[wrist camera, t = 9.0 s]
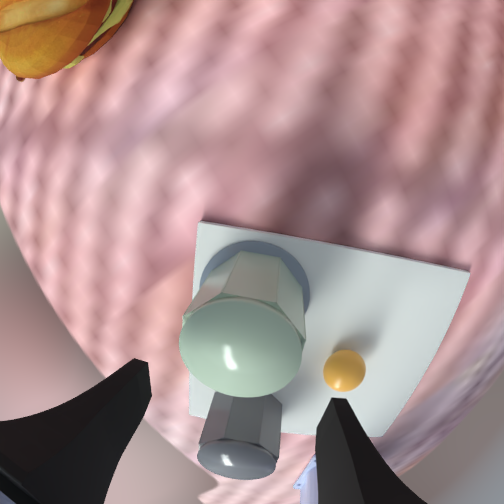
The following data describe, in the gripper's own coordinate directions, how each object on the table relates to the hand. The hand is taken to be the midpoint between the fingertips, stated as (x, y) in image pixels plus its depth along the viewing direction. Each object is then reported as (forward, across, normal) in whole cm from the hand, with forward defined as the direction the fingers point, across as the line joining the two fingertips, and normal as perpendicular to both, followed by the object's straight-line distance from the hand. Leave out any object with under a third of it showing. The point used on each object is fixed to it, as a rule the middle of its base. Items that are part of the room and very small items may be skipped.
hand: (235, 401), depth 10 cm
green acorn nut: (+9, 0, 0) cm, 9 cm away
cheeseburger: (+10, +16, -19) cm, 26 cm away
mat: (+9, -5, +5) cm, 12 cm away
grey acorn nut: (+9, -1, +11) cm, 14 cm away
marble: (+7, -7, +4) cm, 11 cm away
